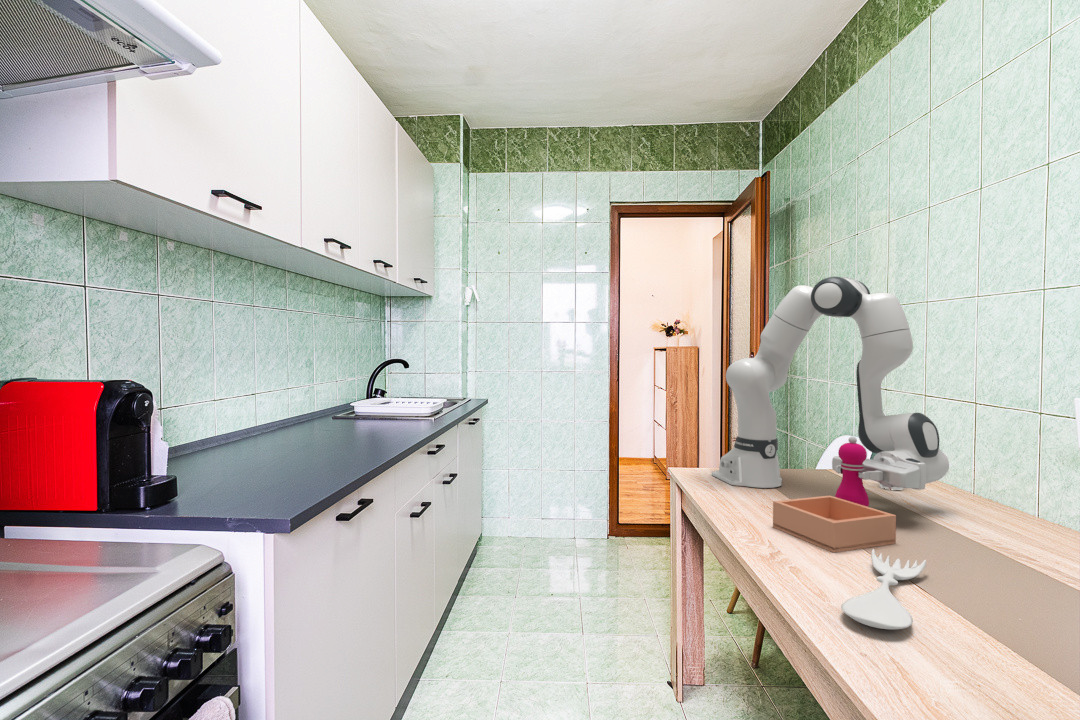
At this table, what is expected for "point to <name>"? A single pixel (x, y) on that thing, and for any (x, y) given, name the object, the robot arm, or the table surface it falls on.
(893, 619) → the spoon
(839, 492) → the pepper mill
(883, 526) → the crate
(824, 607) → the table surface
